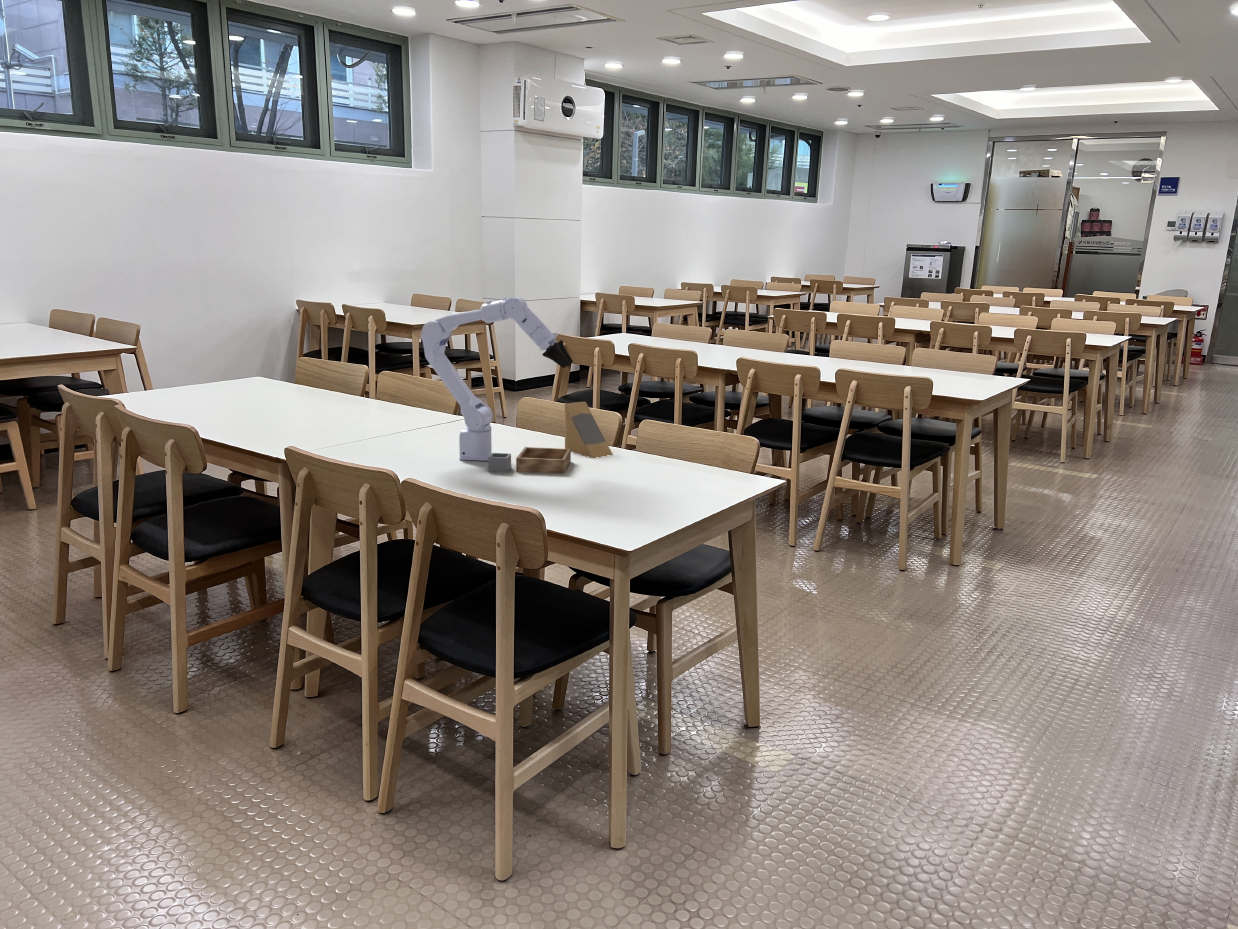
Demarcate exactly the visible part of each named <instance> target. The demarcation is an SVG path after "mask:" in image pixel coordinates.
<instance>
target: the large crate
mask: <svg viewBox="0 0 1238 929" xmlns="http://www.w3.org/2000/svg"><path fill="white" fill-rule="evenodd" d="M520 451H521V452H520V453H519V454H518V455H517V456H516V458H515V470H516V472H520V473H521V472H522V473H543V474H544V473H545V474H546V473H547V474H561V475H562V474H565V473H566V471H567V470H568V467H569V466H570V464H571V462H572V460H571V457H572V456H571V454H572V451H571V449H565V448H558V447H532V446H524V448H523V449H522V450H520Z"/></svg>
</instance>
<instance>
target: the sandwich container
mask: <svg viewBox="0 0 1238 929" xmlns="http://www.w3.org/2000/svg"><path fill="white" fill-rule="evenodd" d="M564 449H571V453H575V454H579V455H582V456H585V457H587V456H589V457H588V458H591V459H597V458H596V457H599V458H602V457H601V456H605V457H608V456H607V455H610V456H614V454H613V451H612V450H611V448H610V446H609V445H608V442H607V440H606V439H605V437H604V435H603V434H602V431H601V429H600V427H599V425H598V423H597V421H596V420H595V418H594V416H593V413H592V412H591V410H590V408H589V405H588V404H587V402H586V401H577V402H570V403H565V404H564Z"/></svg>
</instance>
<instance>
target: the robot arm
mask: <svg viewBox="0 0 1238 929" xmlns="http://www.w3.org/2000/svg"><path fill="white" fill-rule="evenodd" d="M509 319H511V320H513V321H514V322H515V323H516V324H517V325H518V327H520V328H521V330H522V331H523V332H524V333H525V334H526V335H527V336H528V337H529V338H530V339H531V340H532V341H533V342H534V344H535V345H536V346H537V347H538V348H539V351H541V352H542V351H544V352H543V353H542V356H543V357H545V358H547V359H549V360H551V361H552V362H554V363H556V365H559V366H560V367H561V368H563V369H565V368H566V367H569V366H570V365H571V364H573V363H574V361H573V359H572V357H571V356H570V353H569V352H568V351H567V348H566V346H565V343H564V341H563V339H560V340H559V341H557V340H556V339H557V336H559V333H558V332H556V333H553V332H552V331H551V330H550V328H548V327H547V326H546V324H545V323H543V321H542V320H541V319H540V318H539V317H538V316H537V315H536V314H535V313H534V312H533V311H532V310H531V309H530V308H529V307H528V304H527V301H526V300H525V299H524V298H522V297H520V296H519V297H518V296H516V297H515V296H513V297H510V298H507V297H502V298H501V300H497V301H496V300H495V301H492V300H486V301H485V303H482V304H481V306H480V308H479V309H474V310H469V311H462V312H457V313H456V312H455V313H452V314H449V315H445V316H442V317H438V318H436V319H434V320H433V321H432V320H431V321H430V320H429V321H427V322H426V323H425V324H424V325H423V327H422V329H421V331H420V332H421V333H420V339H421V341H422V346H423V350H424V358H425V359H426V360H427V362H428V364H430V366H431V367H432V369H433V370H434V371H435V373H436V374H437V376H438V377H439V379H440V380H441V381H442V382H443V385H444V386H445V387H446V388H447V390H448V391H449V393H450V394H451V395H452V396H453V398H454V399H455V401H456V402H457V403H458V405H459V407H460V414H461V415H462V417H463V419H464V424H465V425H466V428H461V430H460V431H459V440H458V441H459V442H458V444H459V447H458V448H459V458H458V459H459V460H463V461H481V462H482V461H484V462H485V461H486V462H488V457H489V456H490V455H491V454H492V453H493V452H492V448H493V447H492V446H493V445H492V442H493V441H492V426H491V423H492V422H493V420H494V413H493V410H492V408H491V407H489V406H488V405H486V404H485V403H484V402H483V401H482V399H480V398H479V397H477V396H476V395H474V393H473V391H472V390H471V389H470V387H469V386H468V384H467V383H466V382H465V380H464V379H463V378H462V376H461V374H459V372H458V371H457V370H456V368H455V366H454V365H453V363H452V362H451V361H450V360H449V358H448V356H447V355H446V354H445V351H446V347H447V343H448V341H449V340H450V338H451V336H452V335H453V331H456V329H457V328H458V327H459V326H460V325H465V324H469V323H473V322H477V321H483V322H485V323H486V324H489V323H490V324H491V323H495V322H499V321H500V322H501V321H506V320H509Z"/></svg>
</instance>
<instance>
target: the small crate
mask: <svg viewBox="0 0 1238 929" xmlns="http://www.w3.org/2000/svg"><path fill="white" fill-rule="evenodd" d="M487 462H488V463H487V465H488V473H500V472H501V474H502V473H503V474H508V473H509V471H510V470H511V469H512V453H509V452H508V453H507V452H504V453H503V452H492V454H491V455H490V456H489V457H488V461H487Z"/></svg>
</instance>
